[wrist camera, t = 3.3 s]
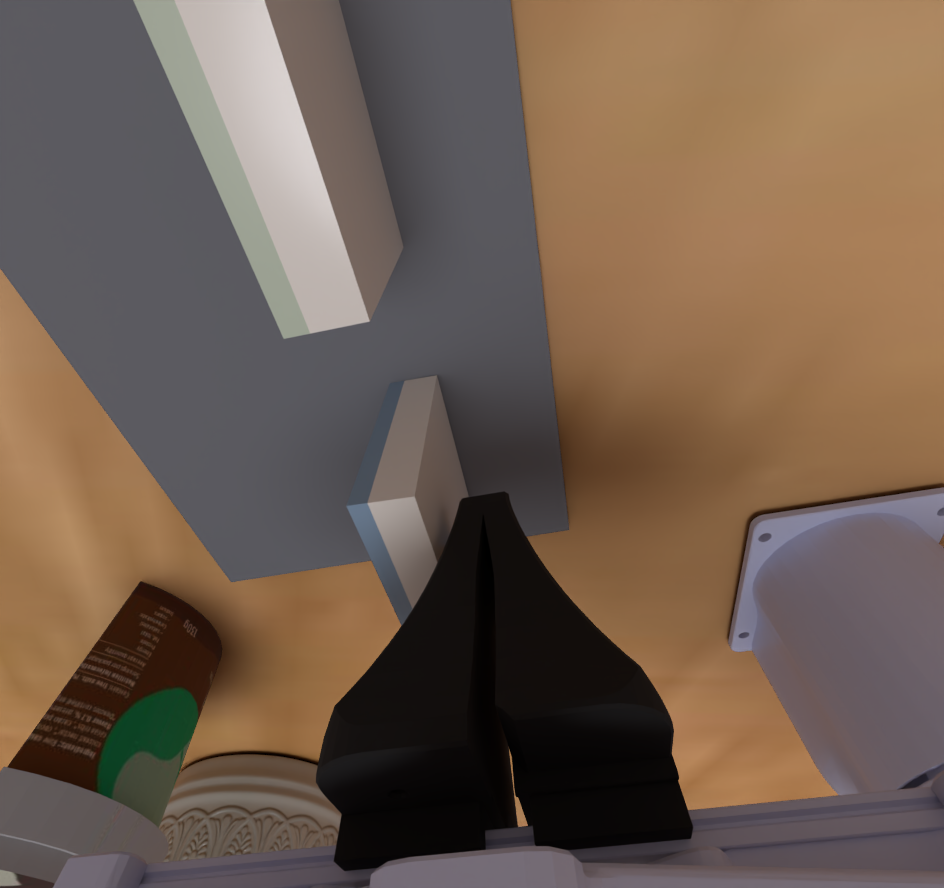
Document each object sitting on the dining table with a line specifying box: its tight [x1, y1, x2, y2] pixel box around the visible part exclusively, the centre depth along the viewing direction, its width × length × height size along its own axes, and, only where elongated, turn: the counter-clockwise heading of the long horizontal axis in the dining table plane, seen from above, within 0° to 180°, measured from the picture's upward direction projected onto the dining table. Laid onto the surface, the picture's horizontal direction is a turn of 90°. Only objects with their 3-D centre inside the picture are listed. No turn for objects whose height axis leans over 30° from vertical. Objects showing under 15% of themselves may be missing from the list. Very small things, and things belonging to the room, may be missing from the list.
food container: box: [0, 582, 222, 888], centre depth 20 cm, size 12×6×10 cm, turn 146°
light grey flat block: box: [346, 375, 469, 625], centre depth 15 cm, size 6×2×6 cm, turn 11°
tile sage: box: [133, 0, 404, 339], centre depth 9 cm, size 6×2×6 cm, turn 11°
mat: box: [0, 0, 569, 582], centre depth 15 cm, size 21×15×1 cm
